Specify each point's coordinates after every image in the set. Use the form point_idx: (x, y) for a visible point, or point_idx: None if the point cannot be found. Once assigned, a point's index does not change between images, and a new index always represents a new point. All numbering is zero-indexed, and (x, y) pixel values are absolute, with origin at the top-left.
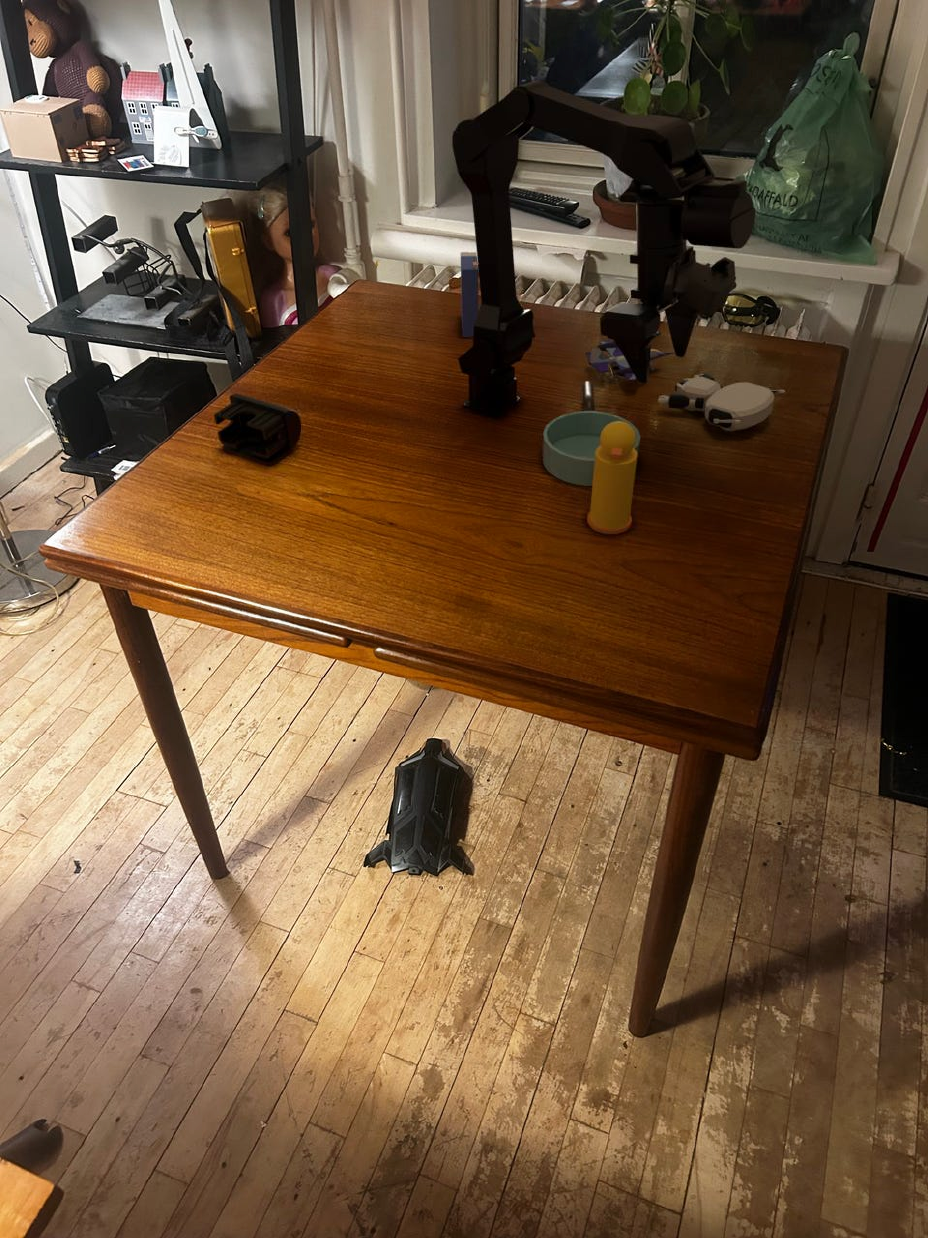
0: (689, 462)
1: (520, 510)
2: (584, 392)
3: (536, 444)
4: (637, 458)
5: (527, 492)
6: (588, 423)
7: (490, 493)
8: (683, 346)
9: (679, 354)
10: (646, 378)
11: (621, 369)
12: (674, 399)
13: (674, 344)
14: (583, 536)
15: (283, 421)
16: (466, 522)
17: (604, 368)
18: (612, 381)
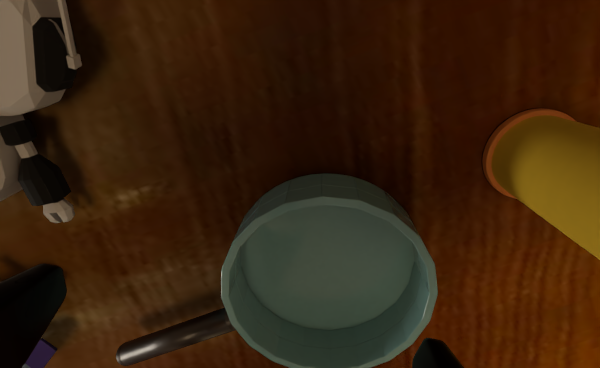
0: (233, 77)
1: (534, 301)
2: (161, 354)
3: None
4: (301, 181)
5: (473, 310)
6: (246, 307)
7: (495, 354)
8: (12, 312)
9: (58, 288)
10: (453, 361)
11: None
12: (51, 190)
13: (21, 355)
14: None
15: None
16: (592, 355)
17: (37, 348)
18: None
